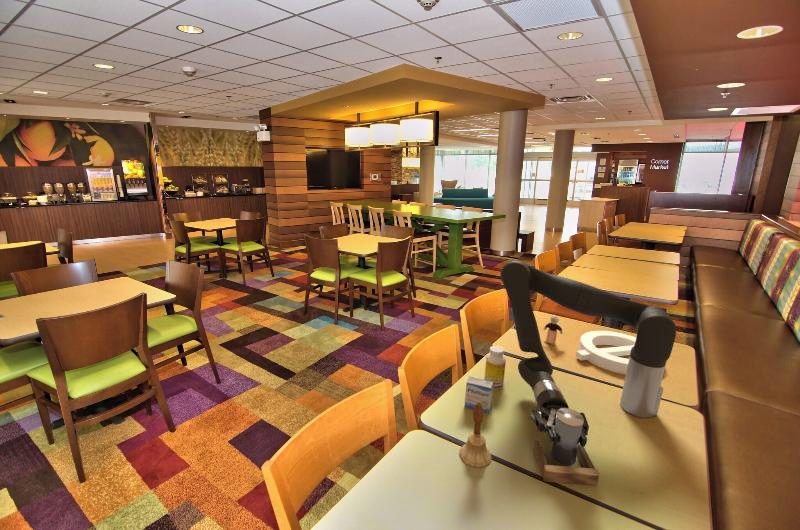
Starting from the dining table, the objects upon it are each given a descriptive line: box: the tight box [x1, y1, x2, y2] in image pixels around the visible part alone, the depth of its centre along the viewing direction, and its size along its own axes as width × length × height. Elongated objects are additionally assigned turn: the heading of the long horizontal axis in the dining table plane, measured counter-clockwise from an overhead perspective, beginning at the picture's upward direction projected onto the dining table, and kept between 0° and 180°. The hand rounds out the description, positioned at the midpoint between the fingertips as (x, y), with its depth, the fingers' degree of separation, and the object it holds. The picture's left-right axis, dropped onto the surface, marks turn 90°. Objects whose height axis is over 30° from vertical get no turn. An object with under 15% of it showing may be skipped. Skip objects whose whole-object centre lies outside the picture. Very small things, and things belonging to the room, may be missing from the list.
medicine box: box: [464, 375, 494, 413], centre depth 117 cm, size 8×4×9 cm, turn 68°
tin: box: [549, 408, 584, 467], centre depth 94 cm, size 6×6×12 cm
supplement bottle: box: [483, 345, 507, 388], centre depth 130 cm, size 7×7×13 cm
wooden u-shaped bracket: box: [533, 440, 600, 487], centre depth 95 cm, size 12×10×4 cm
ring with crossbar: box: [575, 330, 637, 376], centre depth 150 cm, size 28×28×5 cm
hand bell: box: [459, 402, 492, 468], centre depth 97 cm, size 8×8×16 cm
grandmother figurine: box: [543, 315, 563, 346], centre depth 158 cm, size 8×4×13 cm, turn 67°
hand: (570, 442), depth 91 cm, fingers closed on tin, 6 cm apart
